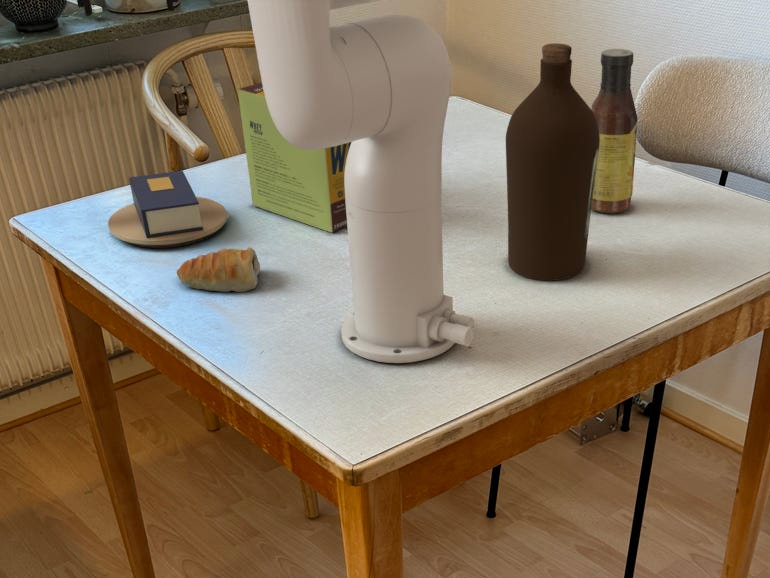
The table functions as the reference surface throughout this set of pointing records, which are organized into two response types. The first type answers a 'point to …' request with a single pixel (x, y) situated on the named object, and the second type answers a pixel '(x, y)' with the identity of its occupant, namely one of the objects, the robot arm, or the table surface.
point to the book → (165, 212)
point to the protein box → (291, 169)
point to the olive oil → (551, 174)
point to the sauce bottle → (615, 133)
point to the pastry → (222, 270)
